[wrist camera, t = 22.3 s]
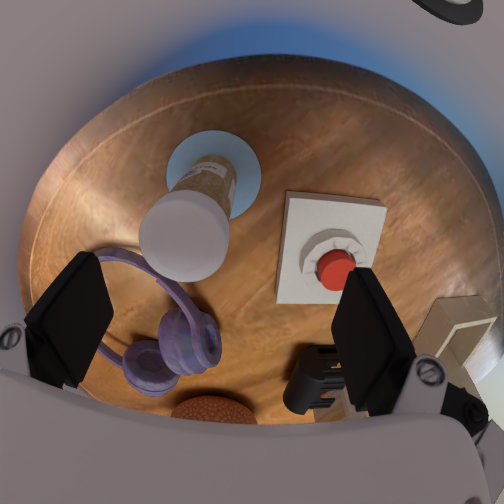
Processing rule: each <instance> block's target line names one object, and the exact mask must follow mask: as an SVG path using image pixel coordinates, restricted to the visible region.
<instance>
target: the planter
mask: <svg viewBox="0 0 504 504" xmlns="http://www.w3.org/2000/svg"><path fill="white" fill-rule="evenodd" d="M171 417H173V418H180V419H187V420H196V421H205V422H216V423H230V424H252V425H258V424H257V421H256V418H255V417H254V415H253V413H252V412H251V411H250V410H249V409H248V408H247V407H245V406H244V405H242V404H241V403H239V402H237V401H235V400H233V399H230V398H226V397H222V396H214V395H204V396H197V397H193V398H190V399H188V400H186V401H184V402H182V403H180V404H179V405H178V406H177V407H176V408H175V409H174V411H173V412H172V415H171Z"/></svg>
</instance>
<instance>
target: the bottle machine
mask: <svg viewBox="0 0 504 504" xmlns="http://www.w3.org/2000/svg"><path fill="white" fill-rule="evenodd" d="M496 318H497V316H496V314H495V313H494V312H493V311H492V309H491V308H490V307H489V306H488V304H487V303H486V302H485V301H484V300H483V299H482V297H481V296H480V295H477V296H466V297H454V298H441V299H436V300H435V302H434V304H433V306H432V308H431V310H430V312H429V314H428V316H427V318H426V320H425V322H424V324H423V325H422V327H421V329H420V331H419V333H418V334H417V336H416V338H415V340H414V341H413V343H412V344H413V346H414V348H415V353H416V355H417V356H419V355H422V354H430V355H432V356H435V357H437V358H438V359H440V360H441V361H442V362H443V363H444V365H445V366H446V368H447V371H448V374H449V375H448V382H450V383H452V384H453V385H455V386H457V387H459V388H460V389H462V390H464V391H466V392H468V393H469V394H471V395H473V396H475V397H477V398H479V399H480V400H481V401H482V399H481V397H480V395H479V393H478V391H477V389H476V387H475V385H474V383H473V381H472V379H471V377H470V376H469V374H468V372H467V370H466V368H465V367H464V365H465V364H466V363H467V361H468V360H469V359H470V357H471V356H472V355H473V353H474V352H475V350H476V349H477V348H478V346H479V345H480V343H481V342H482V340H483V339H484V337H485V336H486V334H487V333H488V331H489V330H490V328H491V326H492V325H493V323H494V321H495V320H496ZM456 329H458V330H457V332H456V333H455V335H454V337H453V338H452V340H451V341H450V343H449V344H448V345H447V343H448V342H449V340H450V338H451V337H452V335H453V334H454V332H455V330H456ZM482 402H483V401H482Z"/></svg>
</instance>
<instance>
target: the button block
mask: <svg viewBox="0 0 504 504" xmlns="http://www.w3.org/2000/svg"><path fill="white" fill-rule="evenodd" d="M386 212H387V207H386V206H385V205H384V204H383V203H381V202H380V201H379V200H373V199H365V198H357V197H348V196H339V195H329V194H319V193H307V192H295V191H287V192H286V201H285V210H284V219H283V228H282V237H281V245H280V254H279V262H278V270H277V278H276V285H275V297H276V303H278V304H339V301H340V298H341V295H342V292H343V290H341V291H330V290H328V289H326V288H325V287H324V286H323V285H322V283H321V280H320V277H319V275H318V272H317V265H318V262H319V260H320V259H321V257H322V256H323V255H325V254H326V253H327V252H329V251H332V250H343V251H345V252H347V253H348V254H349V255H350V256H351V258H352V260H353V261H354V263H355V265H356V267H369V268H371V267H372V263H373V260H374V257H375V253H376V250H377V246H378V243H379V239H380V236H381V232H382V228H383V224H384V220H385V216H386Z"/></svg>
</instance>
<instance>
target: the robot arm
mask: <svg viewBox="0 0 504 504" xmlns="http://www.w3.org/2000/svg"><path fill="white" fill-rule="evenodd" d="M445 1H447V2H449V3H453V4H458V5H461V4H466V3H468V2H470V1H471V0H445ZM113 314H114V311H113V307H112V304H111V301H110V297H109V294H108V291H107V287H106V284H105V280H104V277H103V273H102V270H101V266H100V262H99V259H98V257H97V256H95V254H94V253H93V252H85V251H80V252H79V253H78V254H77V255H76V256H75V257H74V258H73V259H72V260H71V261H70V262H69V264H68V265H67V266H66V267H65V268H64V269H63V270H62V272H61V273H60V274H59V275H58V276H57V277H56V279H55V280H54V281H53V282H52V283H51V285H50V286H49V287H48V288H47V290H46V291H45V292H44V293H43V295H42V296H41V297H40V298H39V300H38V301H37V302H36V304H35V305H34V306H33V308H32V309H31V310H30V312H29V313H28V314H27V316H26V317H25V319H24V321H25V323H26V325H27V327H26V328H25V329H24V327H23V326H22V325H21V324H19V323H12V324H9V325H7V326H5V327H4V328H3V329H2V330H1V331H0V504H495V502H496V500H497V499H498V497H499V495H500V494H501V492H502V490H503V488H504V431H503V430H502V429H501V428H500V427H499V426H498V425H497V424H496V423H495V422H494V421H493V420H492V419H491V420H490V421H488V416H489V415H488V410H487V408H486V405H485V404H484V403H483V402H482V401H481V400H480V399H479V398H477V397H475V396H473V395H471V394H469V393H468V392H466V391H464V390H462V389H460V388H459V387H457V386H455V385H453V384H452V383H450V382H448V375H449V374H448V371H447V368H446V366H445V365H444V363H443V362H442V361H441V360H440V359H438V358H437V357H435V356H432V355H430V354H422V355H419V356H417V355H416V353H415V348H414V346H413V344H412V342H411V340H410V338H409V336H408V334H407V332H406V330H405V328H404V326H403V324H402V322H401V320H400V318H399V317H398V315H397V313H396V311H395V309H394V307H393V306H392V304H391V302H390V300H389V298H388V297H387V295H386V293H385V291H384V290H383V288H382V286H381V285H380V283H379V281H378V279H377V278H376V276H375V274H374V273H373V271H372V269H371V268H369V267H355V268H354V269H353V271H349V273H348V276H347V279H346V282H345V286H344V289H343V292H342V295H341V298H340V301H339V304H338V307H337V310H336V313H335V316H334V319H333V322H332V326H331V331H332V336H333V339H334V343H335V346H336V350H337V354H338V357H339V361H340V365H341V369H342V373H343V377H344V380H345V384H346V389H347V393H348V397H349V401H350V403H351V405H355V409H356V412H362V411H368V413H369V416H370V417H366V418H359V419H351V420H343V421H333V422H321V423H307V424H285V425H252V424H230V423H216V422H205V421H196V420H187V419H180V418H173V417H167V416H161V415H155V414H150V413H145V412H140V411H136V410H131V409H127V408H123V407H118V406H114V405H111V404H107V403H103V402H100V401H96V400H93V399H89V398H86V397H83V396H80V395H77V394H74V393H71V392H68V391H65V390H63V388H62V386H63V384H64V383H65V385H67V386H70V387H73V388H76V389H77V387H78V384H79V382H82V381H83V379H84V377H85V375H86V373H87V370H88V368H89V366H90V364H91V361H92V359H93V357H94V355H95V353H96V351H97V348H98V346H99V344H100V342H101V340H102V338H103V336H104V334H105V332H106V330H107V328H108V326H109V324H110V322H111V320H112V318H113Z"/></svg>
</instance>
